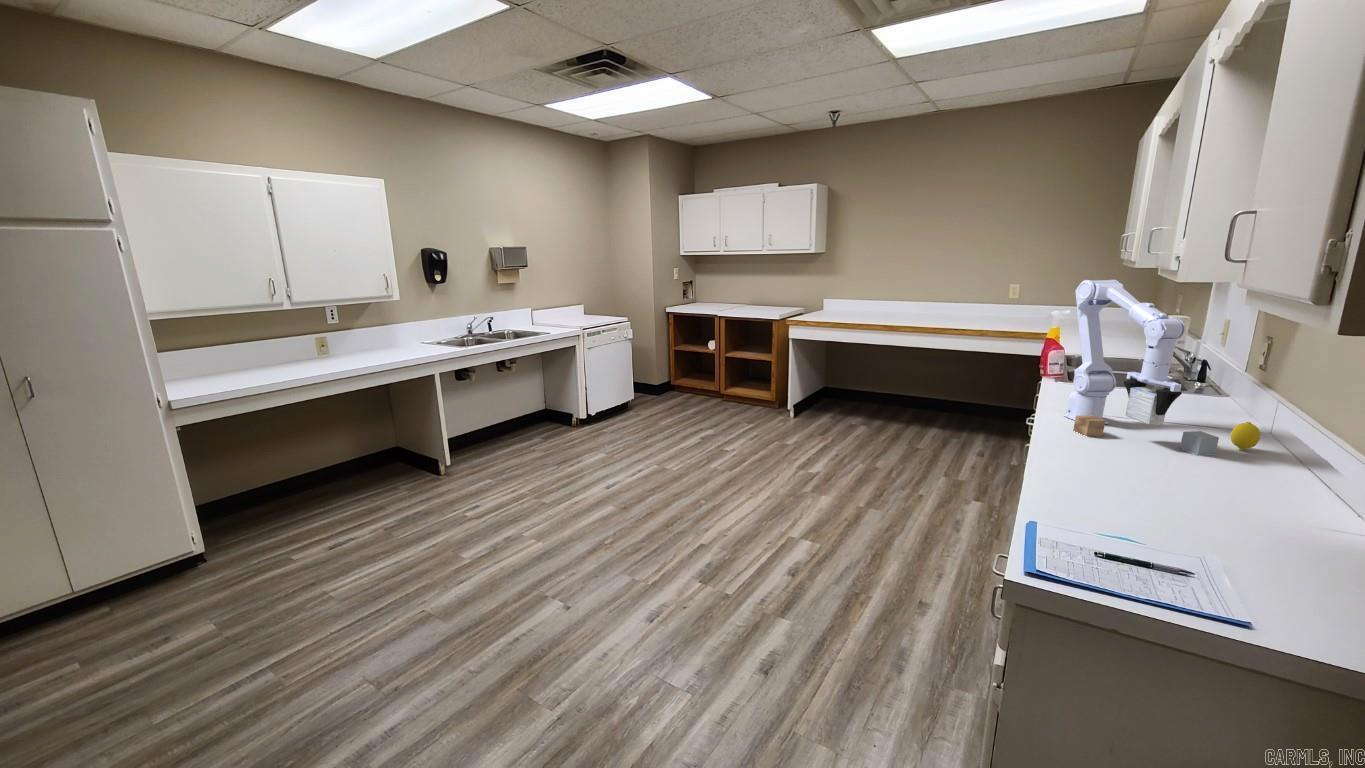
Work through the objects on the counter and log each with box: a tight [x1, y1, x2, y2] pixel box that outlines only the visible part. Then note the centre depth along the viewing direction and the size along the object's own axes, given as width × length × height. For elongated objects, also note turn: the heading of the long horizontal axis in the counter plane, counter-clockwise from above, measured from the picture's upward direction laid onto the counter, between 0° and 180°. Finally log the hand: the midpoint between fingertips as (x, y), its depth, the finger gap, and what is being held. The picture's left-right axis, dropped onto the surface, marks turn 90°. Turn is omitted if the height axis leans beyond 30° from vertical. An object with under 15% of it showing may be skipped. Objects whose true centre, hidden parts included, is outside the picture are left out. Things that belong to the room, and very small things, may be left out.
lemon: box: [1230, 421, 1261, 451], centre depth 148 cm, size 6×6×8 cm
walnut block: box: [1072, 415, 1106, 437], centre depth 162 cm, size 5×5×5 cm
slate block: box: [1179, 430, 1220, 456], centre depth 148 cm, size 5×5×5 cm
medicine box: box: [1124, 386, 1166, 425], centre depth 153 cm, size 8×4×9 cm, turn 3°
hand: (1146, 410), depth 153 cm, fingers closed on medicine box, 7 cm apart
